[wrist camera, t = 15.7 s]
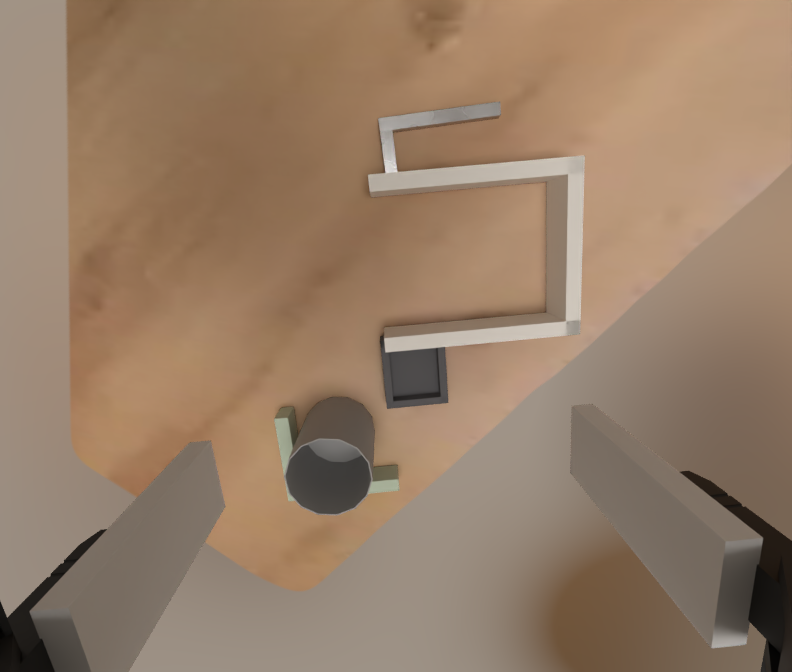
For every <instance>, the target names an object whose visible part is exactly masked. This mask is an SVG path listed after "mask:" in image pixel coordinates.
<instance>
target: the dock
mask: <svg viewBox="0 0 792 672" xmlns="http://www.w3.org/2000/svg"><path fill="white" fill-rule="evenodd" d="M274 421H275V427H276V432H277V438H278V444H279V449H280V455H281V461H282V466H283V472H284V475H285V471H286V467H287V463H288V459H289V457H290V454H291V452H292V450H293V447H294V445H295V443H296V440H297V438H298V430H297V424H296V418H295V412H294V407H284V408H281V409H280V410H279V412H278V413H277V415H276V417H275V418H274ZM285 483H286V482H285ZM286 489H287V486H286ZM389 491H399V478H398V467H397V465H391V466H381V467H373V480H372V483H371V487H370V490H369V493H378V492H389ZM287 495H288V500H289V501H295V500H294V499H293V498H292V497H291V496H290V494H289V493H288V489H287Z"/></svg>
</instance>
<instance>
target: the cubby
mask: <svg viewBox="0 0 792 672" xmlns="http://www.w3.org/2000/svg"><path fill="white" fill-rule="evenodd" d="M584 162H585V155H584V156H572V157H561V158H550V159H538V160H527V161H516V162H505V163H493V164H482V165H471V166H459V167H448V168H437V169H426V170H414V171H403V172H392V173H380V174H369V175H368V180H369V190H370V195H371V197H382V196H393V195H404V194H415V193H427V192H438V191H449V190H460V189H471V188H483V187H494V186H505V185H516V184H528V183H539V182H546V312H545V313H535V314H524V315H513V316H502V317H492V318H481V319H470V320H459V321H449V322H438V323H427V324H416V325H406V326H395V327H384V343H385V353H386V352H397V351H407V350H418V349H429V348H439V347H450V346H461V345H471V344H482V343H492V342H503V341H514V340H524V339H535V338H546V337H556V336H567V335H578V334H580V318H581V279H582V240H583V201H584Z"/></svg>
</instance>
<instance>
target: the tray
mask: <svg viewBox="0 0 792 672" xmlns="http://www.w3.org/2000/svg"><path fill="white" fill-rule="evenodd" d="M380 343H381V353H382V363H383V373H384V383H385V393H386V403H387V409H389V408H400V407H410V406H421V405H431V404H441V403H448V390H447V373H446V357H445V347H439V348H429V349H418V350H407V351H397V352H386V353H385V343H384V336H380Z"/></svg>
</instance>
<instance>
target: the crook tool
mask: <svg viewBox="0 0 792 672" xmlns="http://www.w3.org/2000/svg"><path fill="white" fill-rule="evenodd" d="M500 115H501V109H500V102H493V103H486V104H479V105H471V106H464V107H457V108H449V109H442V110H435V111H427V112H420V113H413V114H405V115H398V116H391V117H384V118H378V122H379V129H380V137H381V145H382V152H383V160H384V168H385V173H392V172H397V165H396V157H395V149H394V140H393V133H395V132H402V131H410V130H417V129H424V128H431V127H439V126H446V125H453V124H461V123H468V122H475V121H482V120H490V119H497V118H499V116H500Z"/></svg>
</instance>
